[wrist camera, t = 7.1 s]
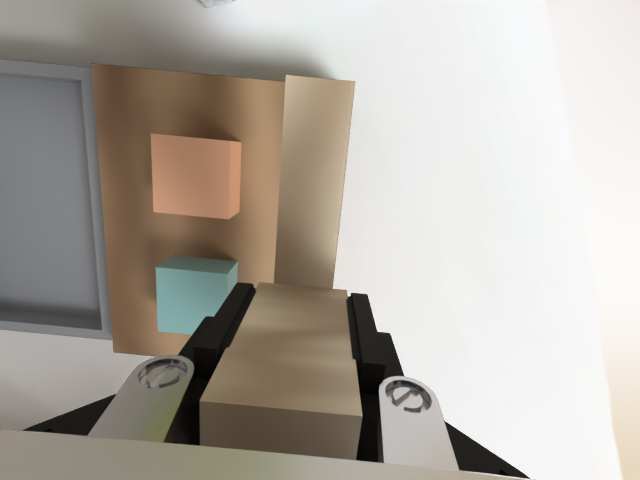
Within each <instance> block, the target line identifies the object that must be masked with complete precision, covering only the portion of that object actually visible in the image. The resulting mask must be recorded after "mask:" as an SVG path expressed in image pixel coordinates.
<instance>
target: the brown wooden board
mask: <svg viewBox="0 0 640 480" xmlns="http://www.w3.org/2000/svg"><path fill="white" fill-rule="evenodd" d="M91 64H92V77H93V90H94V103H95V116H96V129H97V142H98V155H99V168H100V181H101V194H102V207H103V220H104V233H105V246H106V259H107V272H108V286H109V299H110V312H111V325H112V338H113V351H114V352H115V353H126V354H136V355H146V356H157V357H159V356H163V355H178V354H179V352H180V351H181V350H182V348H183V347H184V345H185V344H186V343H187V341H188V340H189V338H190V337H191V336H192V335H189V334H179V333H168V332H158V319H157V292H156V267H157V266H158V265H160V264H161V263H163V262H164V261H166V260H167V259H169V258H170V257H172V256H173V255H177V256H187V257H198V258H208V259H218V260H229V261H238V274H237V282H241V283H252V284H253V285H254V288H256V287H257V285H258V283H259V282H265V283H274V270H275V253H276V235H277V218H278V201H279V183H280V166H281V149H282V132H283V114H284V97H285V82H281V81H271V80H260V79H250V78H239V77H229V76H218V75H208V74H197V73H187V72H177V71H166V70H156V69H145V68H135V67H124V66H114V65H103V64H93V63H91ZM353 97H354V96H353ZM352 107H353V105H352ZM351 116H352V114H351ZM350 125H351V123H350ZM151 134H162V135H172V136H183V137H193V138H204V139H214V140H225V141H235V142H241V175H240V208H239V213H237V214H236V215H234V216H233V217H231V218H230V219H220V218H210V217H199V216H189V215H179V214H168V213H158V212H154V211H153V183H152V156H151ZM349 134H350V132H349ZM348 143H349V141H348ZM347 152H348V150H347ZM346 161H347V159H346ZM345 170H346V168H345ZM344 179H345V178H344ZM343 188H344V187H343ZM342 197H343V196H342ZM341 207H342V205H341ZM340 216H341V214H340ZM339 225H340V223H339ZM338 234H339V232H338ZM337 243H338V241H337ZM336 252H337V250H336ZM335 261H336V259H335ZM334 270H335V268H334ZM333 279H334V277H333ZM332 288H333V286H332Z"/></svg>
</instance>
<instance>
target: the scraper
mask: <svg viewBox="0 0 640 480" xmlns="http://www.w3.org/2000/svg"><path fill="white" fill-rule="evenodd" d="M354 87H355V81H345V80H335V79H325V78H314V77H304V76H293V75H286V80H285V97H284V114H283V132H282V149H281V166H280V183H279V201H278V218H277V235H276V253H275V270H274V283H265V282H259V283H258V285H257V287H256V289H255V290H256V293H255V295H254V297H253V299H252V302H251V304H250V306H249V308H248V310H247V312H246V314H245V316H244V318H243V320H242V322H241V324H240V326H239V328H238V330H237V332H236V335H235V337H234V339H233V341H232V343H231V345H230V347H229V348H226V349H225V351H224V353H223V355H222V357H221V359H220V361H219V363H218V365H217V367H216V369H215V371H214V373H213V375H212V377H211V379H210V381H209V383H208V385H207V387H206V389H205V391H204V393H203V395H202V397H201V399H200V446H207V447H218V448H229V449H240V450H251V451H263V452H273V453H284V454H294V455H305V456H316V457H326V458H337V459H347V460H356V455H357V449H358V443H359V436H360V430H361V423H362V417H363V415H362V407H361V399H360V391H359V384H358V376H357V368H356V360H355V359H353V358H352V349H351V340H350V331H349V322H348V313H347V305H346V299H348V296H347V290H339V289H332V286H333V277H334V268H335V259H336V250H337V241H338V232H339V223H340V214H341V205H342V196H343V187H344V178H345V168H346V159H347V150H348V141H349V132H350V123H351V114H352V105H353V96H354Z"/></svg>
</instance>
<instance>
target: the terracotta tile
mask: <svg viewBox="0 0 640 480" xmlns="http://www.w3.org/2000/svg"><path fill="white" fill-rule="evenodd" d="M151 156H152V183H153V211H154V212H158V213H168V214H179V215H189V216H199V217H210V218H220V219H230V218H231V217H233V216H234V215H236V214H237V213H239V208H240V175H241V142H235V141H225V140H214V139H204V138H193V137H183V136H172V135H162V134H151Z"/></svg>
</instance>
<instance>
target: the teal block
mask: <svg viewBox="0 0 640 480" xmlns="http://www.w3.org/2000/svg"><path fill="white" fill-rule="evenodd" d="M237 274H238V261H229V260H218V259H208V258H198V257H187V256H177V255H173V256H172V257H170V258H169V259H167V260H166V261H164V262H163V263H161V264H160V265H158V266H157V267H156V292H157V319H158V332H168V333H179V334H189V335H192V334H193V333H194V332H195V330H196V329H197V327H198V326H199V325H200V323H201V322H202V320H203V319H204V318H205V317H206V316H213V317H214V316H215V314H216V313H217V311H218V310H219V308H220V307H221V305H222V304H223V302H224V301H225V299H226V298H227V296H228V295H229V293H230V292H231V290H232V289H233V287H234V286H235V284H236V283H237Z"/></svg>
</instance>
